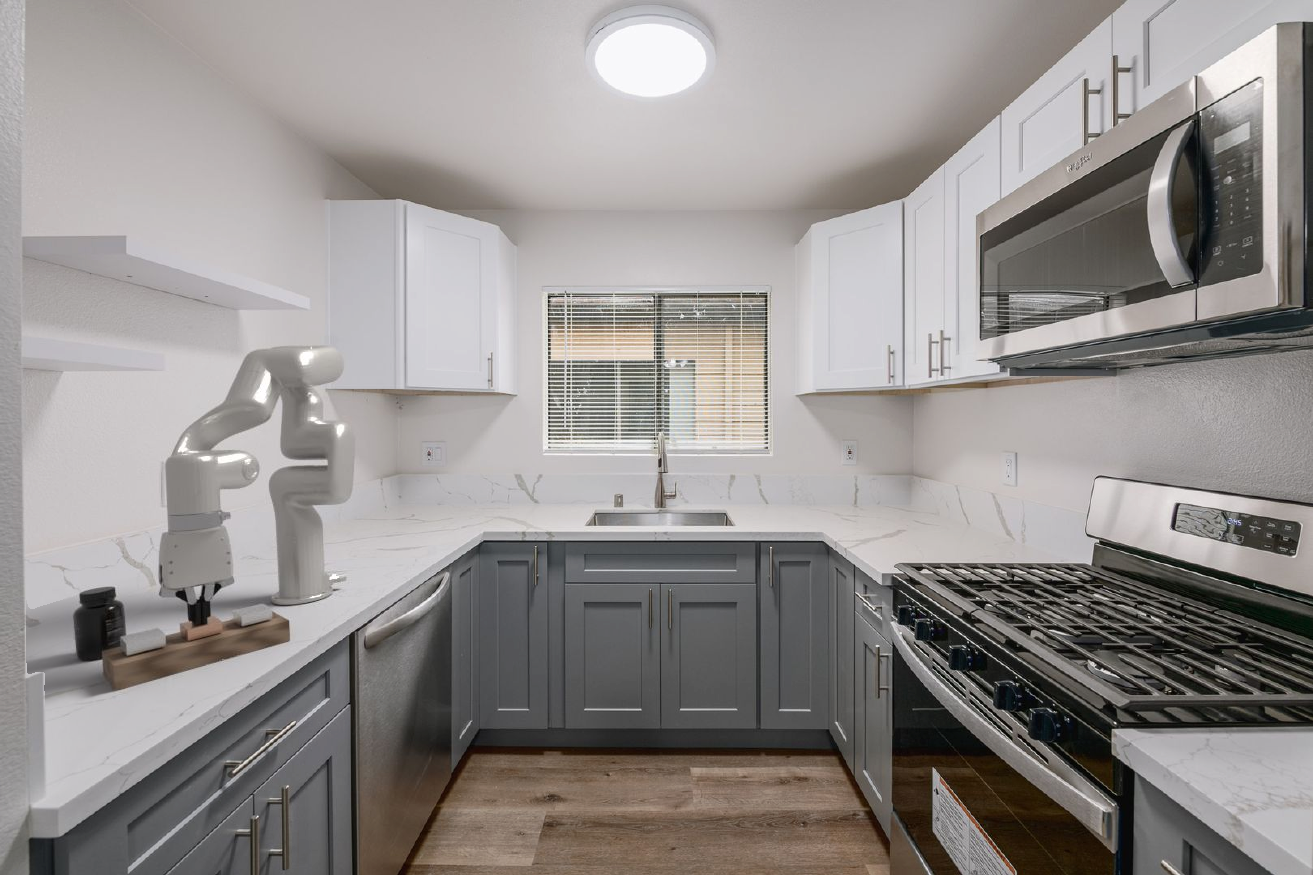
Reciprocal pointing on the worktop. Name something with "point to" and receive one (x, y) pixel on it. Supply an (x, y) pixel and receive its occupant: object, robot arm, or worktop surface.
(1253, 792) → the worktop surface
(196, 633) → the middle button
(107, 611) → the supplement bottle
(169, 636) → the button panel
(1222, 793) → the worktop surface
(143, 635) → the button
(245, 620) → the button
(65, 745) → the worktop surface
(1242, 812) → the worktop surface
